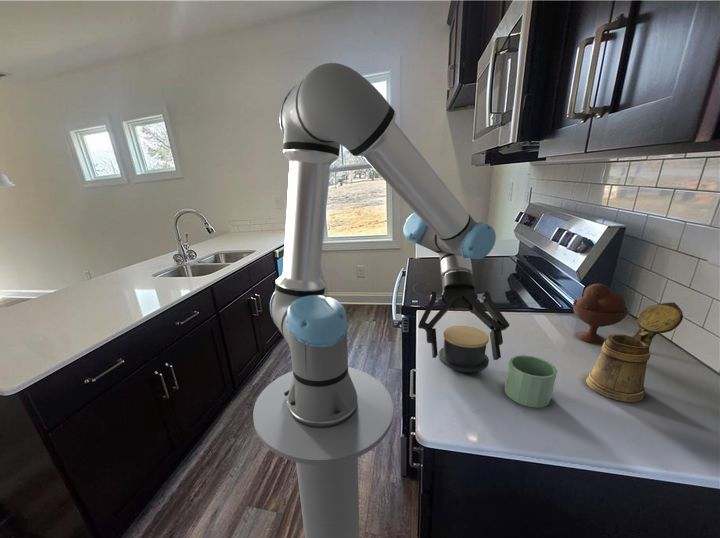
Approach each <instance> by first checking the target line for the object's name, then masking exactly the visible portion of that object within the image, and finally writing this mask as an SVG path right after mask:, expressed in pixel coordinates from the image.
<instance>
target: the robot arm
mask: <svg viewBox="0 0 720 538" xmlns="http://www.w3.org/2000/svg"><path fill="white" fill-rule="evenodd" d="M396 113H397V112H396V111H395V109H394V108H393V107H392V105H391V104H390V103H389V101H387V99H386V98H385V97H384V96H383V94H382V93H381V92H380V91H379V90H378V89H377V88H376V87H375V86H374V85H373V84H372V83H371V82H370V81H369V80H368V79H367V78H365V77H364V76H363V75H362V74H361V73H359V72H358V71H356V70H354V69H353V68H352V67H350V66H347V65H344V64H341V63H337V62H328V63H323V64H320V65H318V66H316V67H315V68H312V69H311V70H310V72H308V73H307V75H305V77H304V78H303V79H302V80H301V81H300V82H299V83H298V84H296V85H294V86H293V87H292V88H291V89H290V90H289V91H288V92H287V94H286V96H285V97H284V99H283V102H282V104H281V106H280V109H279V126H280V130H281V133H282V135H283V146H282V154H283V155H284V156H285V158H286V159H287V160H288V162H289V165H288V167H289V169H288V170H289V171H288V182H287V183H288V184H287V199H286V215H285V230H284V247H283V260H282V261H283V262H282V264H283V265H282V266H283V267H282V274H281V275H280V276H279V277H277V279H275V284H274V285H275V287H274V292H273V293H272V295H271V298H270V301H269V313H270V317H271V319H272V321H273V323H274V324H275V326H276V327H277V328H278V330H279V332H280V333H281V335H282V336H283V338H284V340H285V341H286V343H287V345H288V346H289V350H290V351H289V352H290V357H291V358H290V359H291V366H292V371H293V379H292V383H291V387H290V390H288V391H286V392H284V395H285V396H287V395H288V409H289V412H290V415H291V416H292V417H293V418H294V419H295V420H296V421H297V422H299V423H300V424H303V425H305V426H308V427H313V428H329V427H333V426H337V425H340V424H342V423H344V422H346V421H347V420H348V419H350V418H351V417H352V416H353V414H354V413H355V411H356V409H357V405H358V399H357V392H356V389H355V387H354V384H353V382H352V380H351V377H350V375H349V373H348V367H349V356H348V355H349V353H348V350H349V349H348V328H349V327H348V320H347V314H346V313H347V312H346V310H345V307H344V306H343V305H342V303H341V302H340V301H339V300H337V299H335V298H333V297H330V296H327V297H326V296H325V293H326V292H325V291H326V283H325V282H324V281H323V279H322V278H321V267H322V258H323V257H322V255H323V246H324V237H325V227H326V217H327V208H328V207H327V206H328V197H329V187H330V186H329V185H330V176H331V168H332V166H333V165H334V164H335V163H336V162H337V161H338V160H339V158H340V150H341V146H342V147H344V148H345V149H346V150H347V151H348V152H349V153H350V154H351V155H352V156H353V158H359V157H360V158H361V157H362V158H363V159H364V161H366V163H368V164H369V165H370V167H372V168H373V170H374V171H375V172H376V173H377V174H378V175H379V176H380V177H381V178H382V179H383V181H385V182H386V183H387V184H388V186H389V187H390V188H391V189H392V190H393V191H394V192H395V193H396V194H397V195H398V196H399V197H400V198H401V199H402V200H403V201H404V203H405V204H406V205H407V206H408V207H409V208H410V209H411V210H412V211H413V212H412V213H411V214H410V215H409V216H408V217H407V219H406V220H405V223H404V225H403V229H402V230H403V231H402V232H403V236H404V238H406V239H407V240H409V241H411V243H413V244H416V245H419V246H421V247H423V248H426V249H428V250H430V251H432V252H434V253H437V254H438V255H439V265H440V276H441V289H442V292H441V293H437V292H436V291H435V290H434V291H431V293H430V296H429V301H428V305H427V306H426V308H425V311H424V312H423V314H422V316H421V318H420V320H419V323H418V325H417V327H418V329H420V330H425V331H424V332H425V334H426V335H425V337H426V343H427V344H430V345H431V357H432V359H436V358H437V357H438V356H439V352H438V341H437V329H436V328H435V326H436V325H437V324H438V323H439V322H440V320H441V319H442V318H443V317H444V316H445V315H446V314H447V313H448V312H449V310H451V311H452V312H459V311H460V312H467V311H469V312H470V313H471V314H473V315H475V316H476V317H477V319H478V320H480V321H481V322H482V323H483V324H484V325H485V326H486V327H487V328H488V329H489V330H490V332H489V340H490V345H491V353H492V358H493V361H498V360H500V359H502V354H501V347H500V346H502V344H504V340H503V333H502V331H505V330H507V329H508V328H509V327H510V323H509V322H508V320H507V319H506V318H505V316H504V315H503V313H502V312H501V311H500V309H499V308H498V307H497V305H496V304H495V303H494V301H493V300H492V296H491V294H490V292H489V291H484V292H483V293H477V292H476V289H475V288H476V287H475V280H474V274H473V266H472V261H471V259H473V260H480V259H484V258H486V257H487V256H488V255H489V254H490V252H491V251H492V250H493V249H494V247H495V245H496V239H497V235H496V230H495V228H494V227H493V226H492V225H490V224H488V223H484V222H481V221H475V219H474V218H473V217H472V216H471V214H469V213H468V211H467V210H466V209H465V207H464V206H463V205H462V204H461V202H460V201H459V200H458V199H457V197H456V196H455V195H454V194H453V192H452V191H451V190H450V189H449V188H448V186H447V185H446V184H445V183H444V181H443V180H442V178H440V176H439V175H438V174H437V172H435V170H434V168H432V166H431V165H430V164H429V162H427V160H426V159H425V158H424V156H423V155H422V154H421V153H420V152H419V150H418V149H417V147H416V146H415V145H414V143H412V141H411V140H410V139H409V138H408V136H407V135H406V134H405V132H403V130H402V129H401V128H400V126H399V125H398V124H397V123H396V116H397V115H396ZM439 300H440V301H442V302H443V303H444V305H443V306H442V307H441V308H440V310H439V311H438V312H437V313H436V314H435V315H434V317H433V318H432V319H431V320H430V321H429V322H428V323H427V321H428V318H429V316H430V314H431V312H432V311H433V308H434V306H435V303H439ZM477 300H478V301H479V302H480V303H482V304H483V306H484V308H485V309H486V311H487V312H486V311H485V310H484V309H483V308H482V307H481V305H480V304H479V303H478V302H477Z"/></svg>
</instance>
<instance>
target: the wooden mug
mask: <svg viewBox="0 0 720 538" xmlns="http://www.w3.org/2000/svg"><path fill="white" fill-rule="evenodd" d="M683 319H684V313H683V310H682V309H681V307H679V305H678V304H676V303H675V301H674V302H673V301H672V302H661V303H656V304H652V305H650V306H647V307H646V308H644V309H643V310H642V311H641V313H640V314H639V316H638V317H637V321H636V322H637V325H638V328H639V329H638V331H637V332H636V333H634V335H632V336H631V335H626V334H621V333H613V334H610V335H608V337H607V339H605V340H604V341H603V343H602V346H601V351H600V354H599V355H598V358H597V359H596V362H595V364H594V366H593V368H592V370H590V371H589V373H588V376H587V378H586V379H585V383H586V385H588V386H589V388H590V389H592V390H593V391H595V392H596V393H598V394H600V395H602V396H604V397H606V398H610V399H613V400H615V401H621V402H626V403H636V402H639V401H641V400H643V399H644V396H645V391H646V388H645V379H646V371H647V365H648V361H649V360H650V358H651V351H650V347H651V344H652V342H653V339H654V338H655V337H656V336H657V335H659V334H660V335H661V334H665V333H669V332H672V331H673V330H675V329H676V328H677V327H679V325H680V324H681V323H682V321H683Z"/></svg>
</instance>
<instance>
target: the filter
mask: <svg viewBox="0 0 720 538" xmlns="http://www.w3.org/2000/svg"><path fill="white" fill-rule="evenodd" d="M489 340H490V336H489V335H488V334H487V333H486V332H484V331H483V330H481V329H479V328H476V327H473V326H467V325H453V326H452V325H451V326H448V327H447V328H445V329H444V330H443V347H441V348H440V349H439V351H438V359H439V361H440V362H441V363H442V364H443V365H444V366H446V367H448V368H450V369H452V370H453V371H455V372H458V373H461V374H470V373H477V372H482V371H484V370H485V369H488V367H489V362H490V359H489V357H488V354H486V350H487V345H488V343H489Z"/></svg>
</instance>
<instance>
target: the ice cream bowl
mask: <svg viewBox="0 0 720 538" xmlns="http://www.w3.org/2000/svg"><path fill="white" fill-rule="evenodd" d="M582 295H583V296H580V297H579V298H578V299H574V300H573V303H572V310H573V314H574V315H575V316H576V317H577V318H578V319H579V320H580V321H581V322H583V323H584V324H586V325H588V330H587V331H584V332H579V333H578V334H577V338H578V339H579V340H581V341H583V342H586V343H589V344H597V345H598V344H604V337H603V336H601V335H599V334H598V333H597V332H598V329H599V328H602V327H603V328H604V327H609V326H613V325H616V324H618V323H620V322H622V321H623V320H624V319H625V318H626V316H627V315H628V313H629V311H628V307H626V301H625V298H624V297H623V296H622V295H621V294H619V293H617V292H615V291H612V290H611V288H610V287H609V286H608V285H606V284H602V283H593V284H590V285H587V286H586V288H585V289H584V291H583V294H582Z"/></svg>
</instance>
